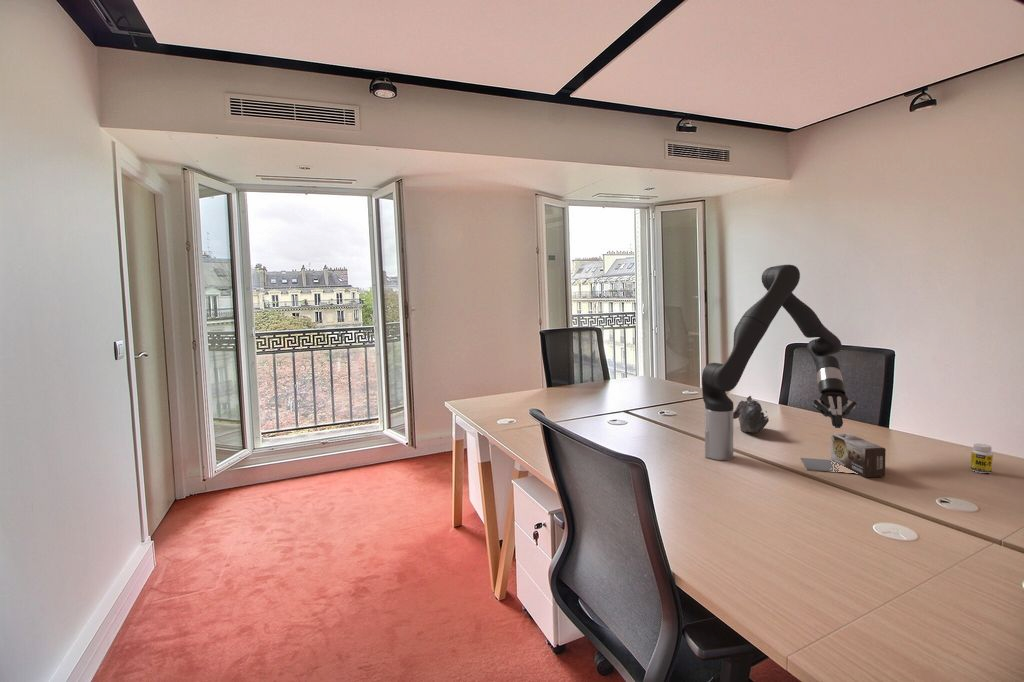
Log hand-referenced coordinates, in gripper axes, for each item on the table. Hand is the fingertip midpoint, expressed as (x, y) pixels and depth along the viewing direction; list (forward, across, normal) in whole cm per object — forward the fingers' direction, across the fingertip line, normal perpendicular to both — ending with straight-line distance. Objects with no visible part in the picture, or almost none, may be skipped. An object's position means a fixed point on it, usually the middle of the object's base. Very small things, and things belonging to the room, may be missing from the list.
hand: (838, 426), depth 160 cm
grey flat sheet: (+11, 0, +8) cm, 13 cm away
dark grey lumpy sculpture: (-14, -23, +32) cm, 42 cm away
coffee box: (+2, +2, +9) cm, 10 cm away
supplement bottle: (+6, +39, +13) cm, 41 cm away
